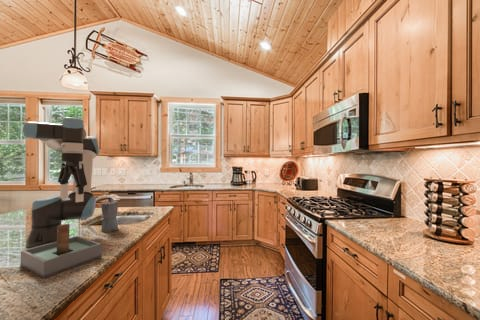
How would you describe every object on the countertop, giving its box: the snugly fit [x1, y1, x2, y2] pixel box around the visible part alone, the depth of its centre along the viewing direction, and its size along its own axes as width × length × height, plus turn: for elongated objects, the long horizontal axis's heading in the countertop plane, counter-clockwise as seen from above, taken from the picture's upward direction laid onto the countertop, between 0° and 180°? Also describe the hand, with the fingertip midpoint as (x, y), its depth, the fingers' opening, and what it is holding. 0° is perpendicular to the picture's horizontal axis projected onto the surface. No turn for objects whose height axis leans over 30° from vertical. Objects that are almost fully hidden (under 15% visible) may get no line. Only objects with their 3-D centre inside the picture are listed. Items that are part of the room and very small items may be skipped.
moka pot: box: [100, 197, 119, 233], centre depth 133 cm, size 10×15×20 cm, turn 24°
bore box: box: [19, 235, 103, 279], centre depth 90 cm, size 20×20×6 cm
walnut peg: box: [57, 223, 71, 256], centre depth 90 cm, size 4×4×14 cm
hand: (71, 200), depth 96 cm, fingers open, 13 cm apart
